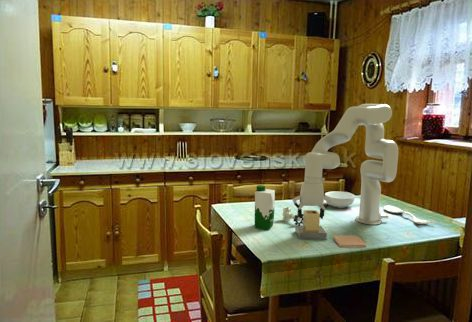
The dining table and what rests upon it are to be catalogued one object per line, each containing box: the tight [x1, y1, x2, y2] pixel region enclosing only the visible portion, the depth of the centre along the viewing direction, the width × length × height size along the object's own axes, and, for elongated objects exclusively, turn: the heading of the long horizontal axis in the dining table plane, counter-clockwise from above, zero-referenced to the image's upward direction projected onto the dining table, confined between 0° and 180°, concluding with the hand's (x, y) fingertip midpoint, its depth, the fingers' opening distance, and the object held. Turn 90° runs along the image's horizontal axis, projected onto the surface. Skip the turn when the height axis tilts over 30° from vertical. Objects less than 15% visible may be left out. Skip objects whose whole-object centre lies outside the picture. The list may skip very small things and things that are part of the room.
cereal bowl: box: [324, 190, 355, 209], centre depth 223 cm, size 17×17×7 cm
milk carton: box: [254, 184, 276, 231], centre depth 182 cm, size 9×9×20 cm
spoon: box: [383, 204, 436, 225], centre depth 203 cm, size 9×32×4 cm, turn 14°
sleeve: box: [302, 209, 321, 232], centre depth 172 cm, size 6×6×8 cm
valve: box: [282, 206, 303, 226], centre depth 191 cm, size 7×7×12 cm
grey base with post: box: [294, 213, 328, 241], centre depth 172 cm, size 12×10×10 cm
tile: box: [332, 235, 367, 248], centre depth 165 cm, size 11×11×1 cm
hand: (310, 217), depth 171 cm, fingers open, 9 cm apart
